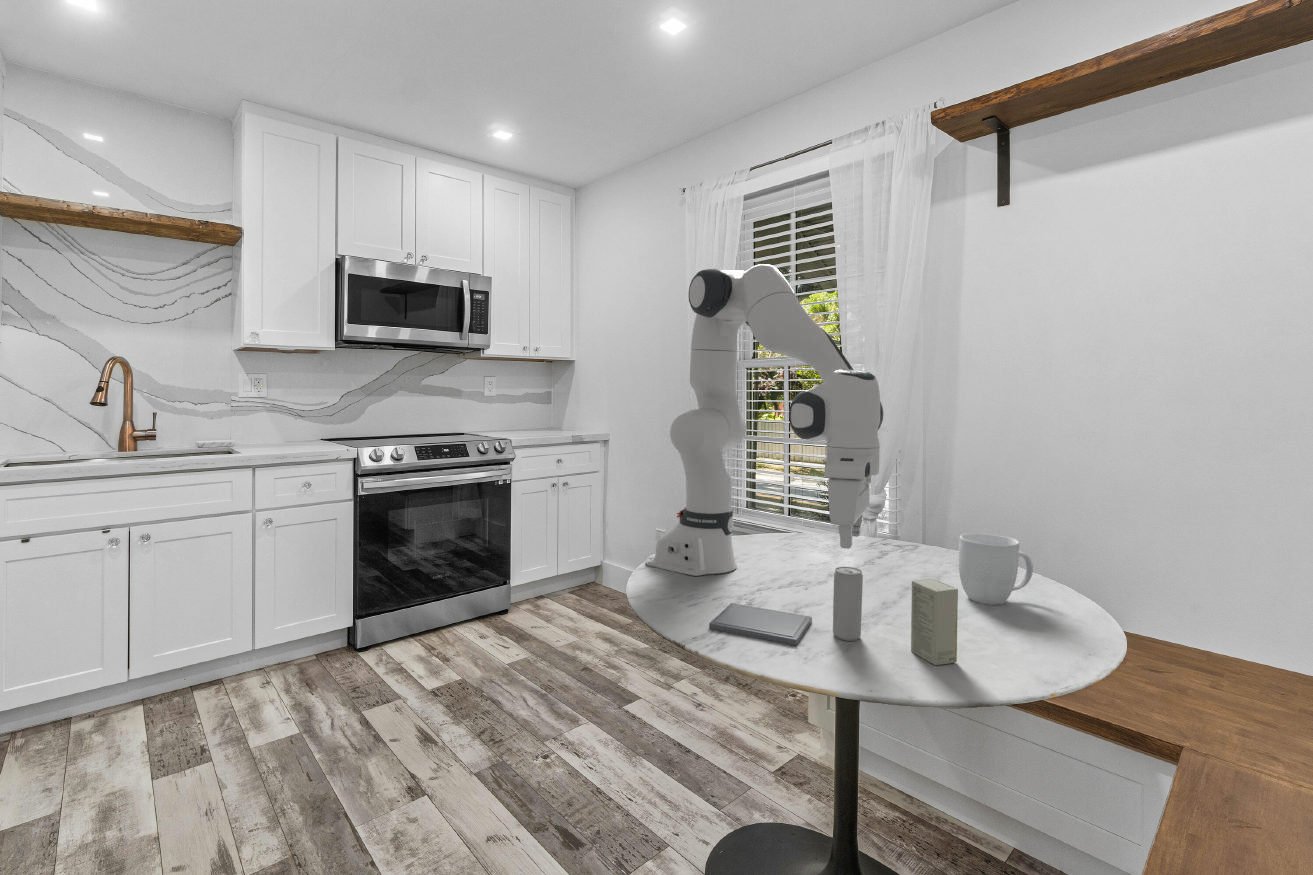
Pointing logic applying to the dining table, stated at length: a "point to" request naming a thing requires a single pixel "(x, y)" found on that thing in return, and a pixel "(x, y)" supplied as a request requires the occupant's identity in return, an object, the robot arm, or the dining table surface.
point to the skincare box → (934, 621)
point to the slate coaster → (762, 623)
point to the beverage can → (847, 603)
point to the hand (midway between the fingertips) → (850, 541)
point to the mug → (990, 567)
